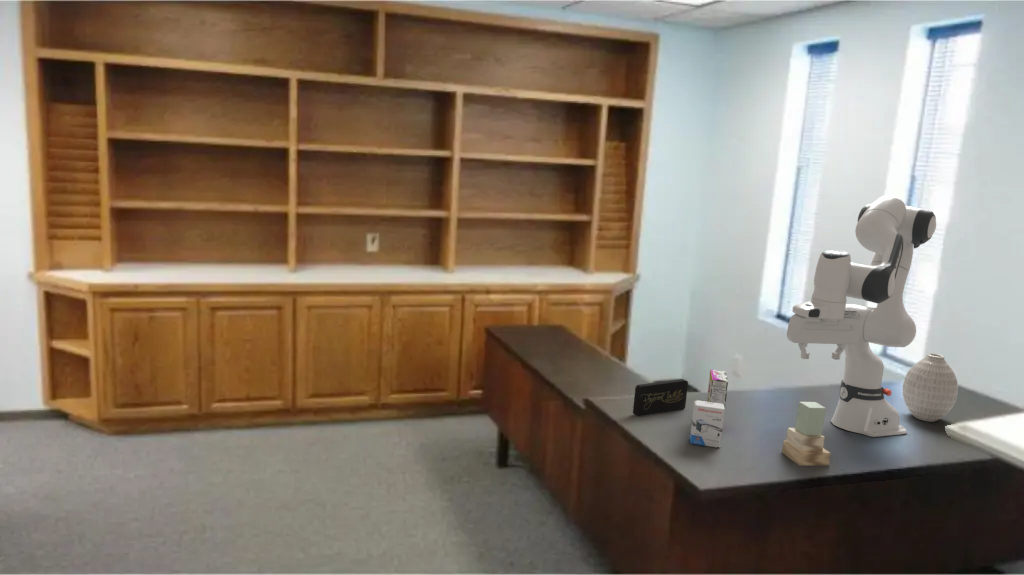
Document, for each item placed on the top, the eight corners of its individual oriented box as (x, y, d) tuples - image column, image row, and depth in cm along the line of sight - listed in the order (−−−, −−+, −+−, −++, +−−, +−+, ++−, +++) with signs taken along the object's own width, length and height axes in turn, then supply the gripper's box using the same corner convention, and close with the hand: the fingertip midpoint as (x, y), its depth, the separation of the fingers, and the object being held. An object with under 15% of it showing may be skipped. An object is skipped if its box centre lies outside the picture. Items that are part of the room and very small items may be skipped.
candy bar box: (703, 418, 235) (709, 369, 232) (720, 420, 234) (726, 371, 231) (705, 430, 224) (712, 378, 222) (722, 433, 224) (729, 381, 221)
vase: (907, 407, 263) (917, 346, 259) (958, 420, 252) (969, 357, 248) (891, 415, 252) (901, 352, 248) (943, 430, 240) (955, 364, 237)
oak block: (810, 453, 213) (812, 440, 212) (828, 466, 204) (830, 453, 204) (781, 453, 211) (783, 440, 211) (798, 466, 203) (800, 452, 202)
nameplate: (636, 417, 232) (639, 386, 231) (632, 415, 234) (635, 385, 232) (685, 409, 243) (688, 380, 242) (681, 407, 245) (684, 378, 243)
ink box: (689, 444, 213) (694, 405, 211) (689, 437, 218) (694, 399, 215) (720, 448, 211) (725, 409, 209) (719, 442, 216) (724, 403, 214)
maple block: (808, 440, 212) (809, 427, 211) (822, 450, 205) (824, 436, 204) (785, 441, 210) (787, 427, 210) (799, 450, 203) (801, 437, 203)
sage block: (811, 428, 210) (815, 402, 209) (821, 435, 205) (825, 408, 204) (795, 428, 209) (799, 401, 208) (804, 435, 204) (809, 407, 203)
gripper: (854, 308, 207) (847, 356, 209) (787, 306, 203) (780, 354, 205) (868, 313, 201) (861, 362, 203) (800, 311, 197) (792, 361, 199)
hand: (820, 358), depth 204 cm, fingers open, 8 cm apart
